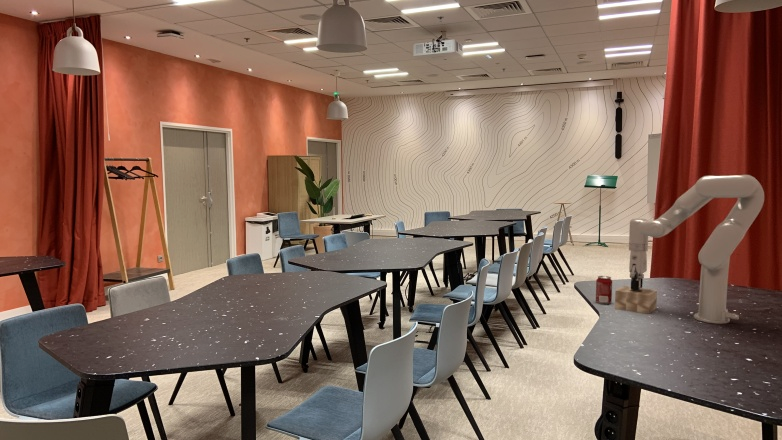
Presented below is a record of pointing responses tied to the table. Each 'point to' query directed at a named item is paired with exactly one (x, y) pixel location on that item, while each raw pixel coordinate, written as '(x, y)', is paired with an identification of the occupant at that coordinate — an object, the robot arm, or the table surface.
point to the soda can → (604, 290)
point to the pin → (639, 281)
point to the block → (636, 300)
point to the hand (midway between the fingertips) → (636, 288)
